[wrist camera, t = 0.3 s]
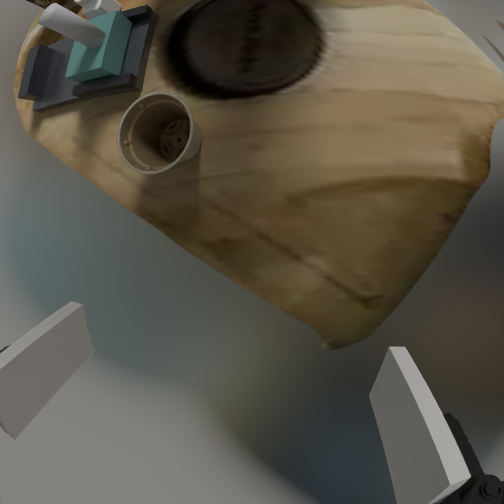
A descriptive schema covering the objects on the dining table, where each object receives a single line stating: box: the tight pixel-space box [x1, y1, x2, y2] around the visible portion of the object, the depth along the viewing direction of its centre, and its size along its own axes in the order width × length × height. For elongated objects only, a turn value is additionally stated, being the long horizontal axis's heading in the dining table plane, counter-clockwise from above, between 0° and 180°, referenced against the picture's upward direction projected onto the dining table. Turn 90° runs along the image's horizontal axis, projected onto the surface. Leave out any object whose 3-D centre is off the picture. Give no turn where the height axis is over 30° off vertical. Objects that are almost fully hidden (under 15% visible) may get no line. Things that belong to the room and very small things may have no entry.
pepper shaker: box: [74, 0, 121, 19], centre depth 25 cm, size 4×4×10 cm
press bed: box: [18, 5, 158, 112], centre depth 29 cm, size 14×24×6 cm, turn 85°
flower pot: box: [117, 92, 202, 174], centre depth 31 cm, size 9×9×9 cm
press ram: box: [39, 3, 132, 83], centre depth 22 cm, size 10×7×16 cm
